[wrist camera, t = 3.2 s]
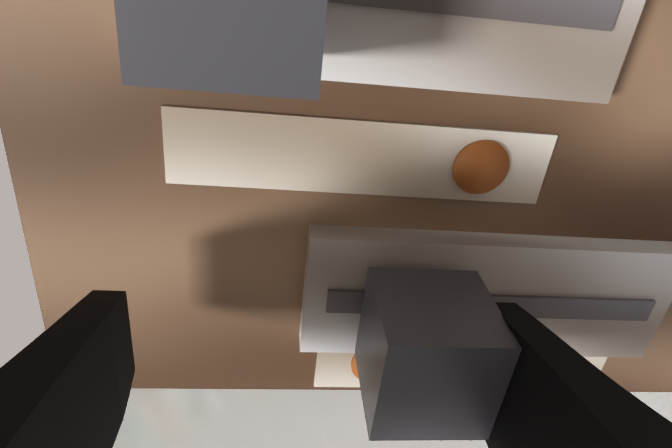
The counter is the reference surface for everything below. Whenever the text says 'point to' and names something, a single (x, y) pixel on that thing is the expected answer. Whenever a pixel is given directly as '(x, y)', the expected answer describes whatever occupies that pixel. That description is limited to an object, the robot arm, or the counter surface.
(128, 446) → the counter surface
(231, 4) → the switch
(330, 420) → the counter surface
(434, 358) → the switch
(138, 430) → the counter surface
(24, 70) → the switch board
